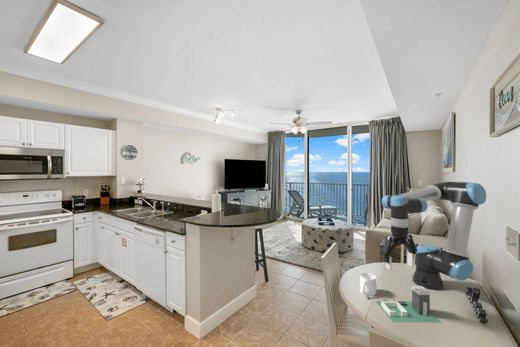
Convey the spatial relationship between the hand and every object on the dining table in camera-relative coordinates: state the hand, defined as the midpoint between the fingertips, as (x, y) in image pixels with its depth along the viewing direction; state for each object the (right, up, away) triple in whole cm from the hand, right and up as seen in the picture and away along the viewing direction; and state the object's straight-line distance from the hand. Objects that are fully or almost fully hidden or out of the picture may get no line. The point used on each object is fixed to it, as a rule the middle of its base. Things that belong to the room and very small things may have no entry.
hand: (399, 267), depth 113 cm
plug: (+7, -20, -5) cm, 22 cm away
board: (0, -21, -4) cm, 21 cm away
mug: (-11, -21, +12) cm, 27 cm away
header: (-6, -20, -4) cm, 21 cm away
